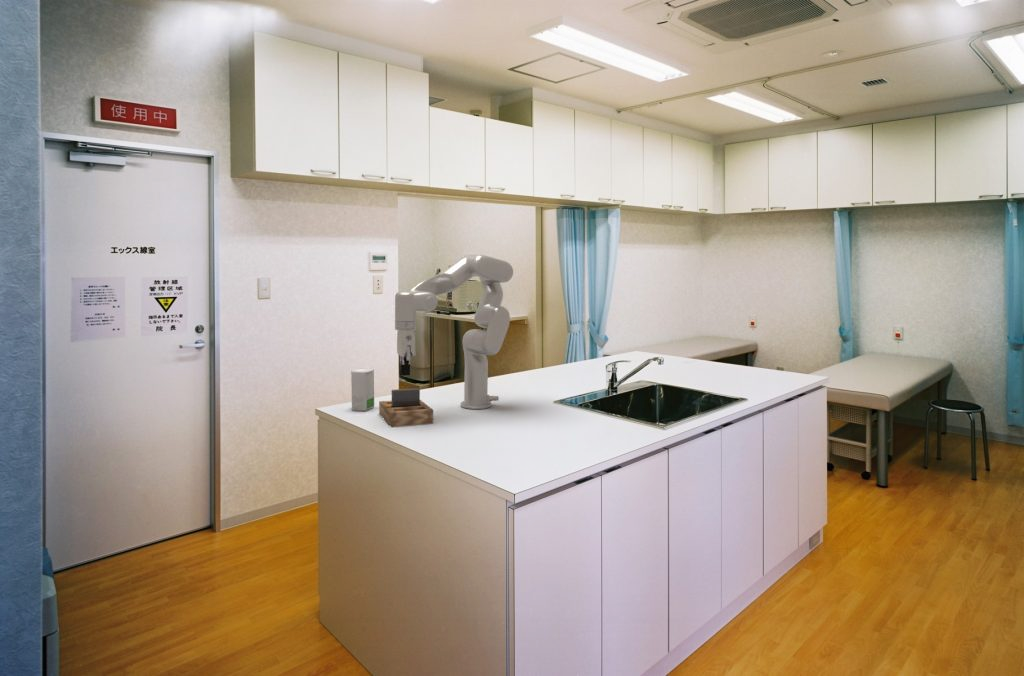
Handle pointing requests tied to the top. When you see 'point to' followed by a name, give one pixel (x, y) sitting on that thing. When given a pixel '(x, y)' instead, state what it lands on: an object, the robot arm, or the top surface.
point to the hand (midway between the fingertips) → (405, 374)
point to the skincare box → (362, 389)
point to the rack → (405, 414)
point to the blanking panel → (405, 397)
